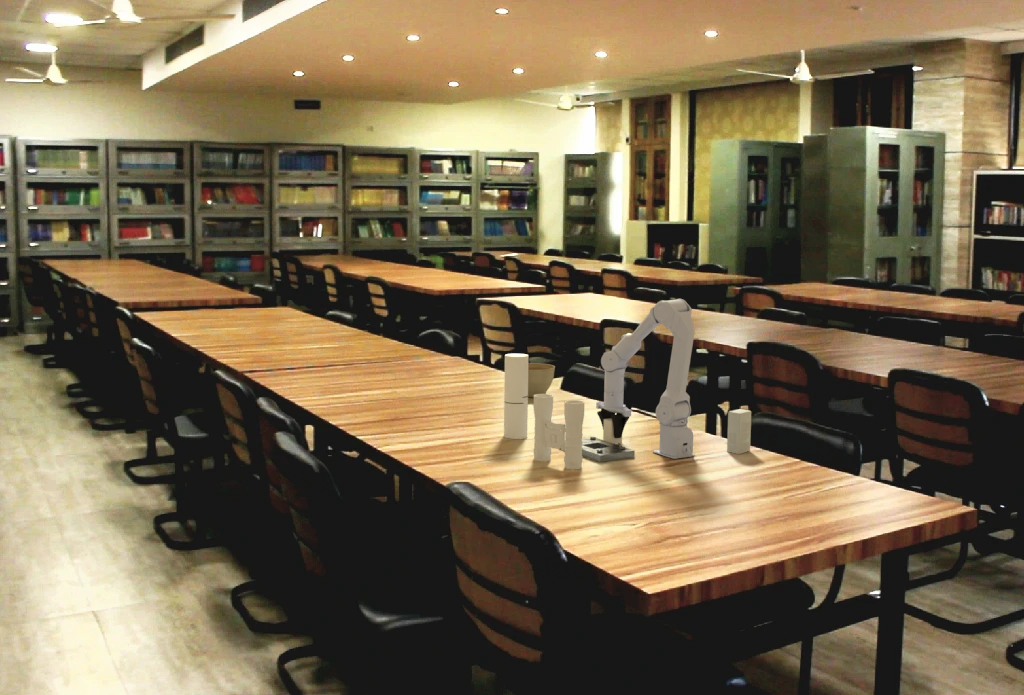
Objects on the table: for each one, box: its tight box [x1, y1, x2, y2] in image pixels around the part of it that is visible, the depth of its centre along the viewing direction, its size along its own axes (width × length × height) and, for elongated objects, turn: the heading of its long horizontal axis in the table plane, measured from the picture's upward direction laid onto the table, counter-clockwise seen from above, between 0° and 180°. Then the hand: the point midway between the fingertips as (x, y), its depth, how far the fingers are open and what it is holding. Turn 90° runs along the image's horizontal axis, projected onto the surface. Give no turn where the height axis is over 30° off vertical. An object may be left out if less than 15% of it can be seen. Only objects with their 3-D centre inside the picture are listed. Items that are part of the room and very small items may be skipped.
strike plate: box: [582, 436, 636, 463], centre depth 305 cm, size 20×12×3 cm, turn 32°
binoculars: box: [533, 393, 586, 470], centre depth 291 cm, size 17×5×18 cm, turn 43°
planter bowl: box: [528, 362, 556, 398], centre depth 392 cm, size 16×16×11 cm
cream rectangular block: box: [602, 418, 623, 445], centre depth 318 cm, size 4×4×7 cm
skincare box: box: [726, 408, 752, 455], centre depth 308 cm, size 6×4×12 cm
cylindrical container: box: [503, 353, 529, 440], centre depth 323 cm, size 7×7×25 cm
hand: (612, 436), depth 318 cm, fingers open, 4 cm apart
